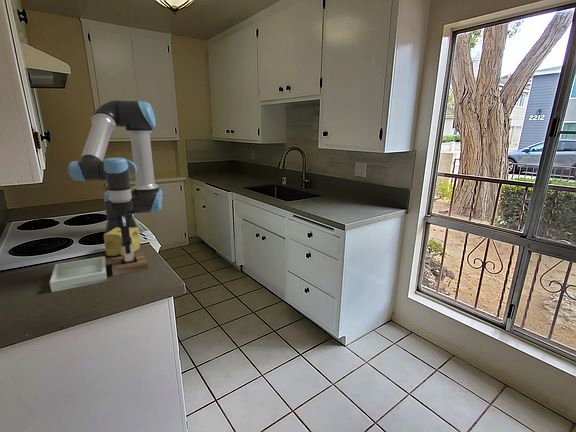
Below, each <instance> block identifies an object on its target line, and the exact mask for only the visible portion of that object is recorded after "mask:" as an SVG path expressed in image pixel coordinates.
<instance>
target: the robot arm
mask: <svg viewBox="0 0 576 432" xmlns="http://www.w3.org/2000/svg"><path fill="white" fill-rule="evenodd" d="M90 122H91V126H90V127H91V128H90V130H89V133H88V135H87V138H86V141H85V144H84V147H83V151H82V152H81V156H80V159H79V160H73V161H71V162H70V163H69V164H68V174H69V177H71V179H72V180H73V181H74V182H75V181H77V182H78V181H79V182H99V181H106V189H107V190H106V191H105V192H104V193H103V202H104V209H105V215H106V219H107V220H106V225H105V230H104V234H106V233H108V232H109V231H111V230H113V229H114V228H121V237H122V240H123V244H122V245H121V246H123V249H124V256H125V262H126V261H131V260H133V256H132V248H131V241H130V239H131V237H130V233H129V228H134V227H138V228H139V226H138V225H137V222H136V221H135V218H134V216H133V214H152V213H159V212H161V210H162V206H163V200H164V199H163V195H164V194H163V189H159V185H158V184H157V183H156V182H155V172H154V163H153V155H152V154H153V152H152V145H151V144H152V143H151V134H152V133H153V132H154V131H153V128H156V124H157V123H156V117H155V112H154V109H153V108H152V105H151V104H150V103H149V102H147V101H141V100H116V99H115V100H109V101H107V102H105V103H103V104H101V105H100V106H99V107H98V108H97V109H96V110H95V111H94V113H92V116H91V118H90ZM119 127H121V128H123V127H125V132H126V133H127V134H128V135H129V137H130V143H131V144H130V146H131V152H132V160H133V161H132V160H129V159H127V158H124V157H109V158H108V157H107V158H105V157H106V152H107V148H108V145H109V142H110V138H111V137H112V136H111V135H112V132H113V131H115V129H116V128H119ZM104 158H105V159H104ZM134 177H135V184H134V186H133V187H132V188H131V182H130V180H132V179H133V178H134ZM132 189H133V190H132Z"/></svg>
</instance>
